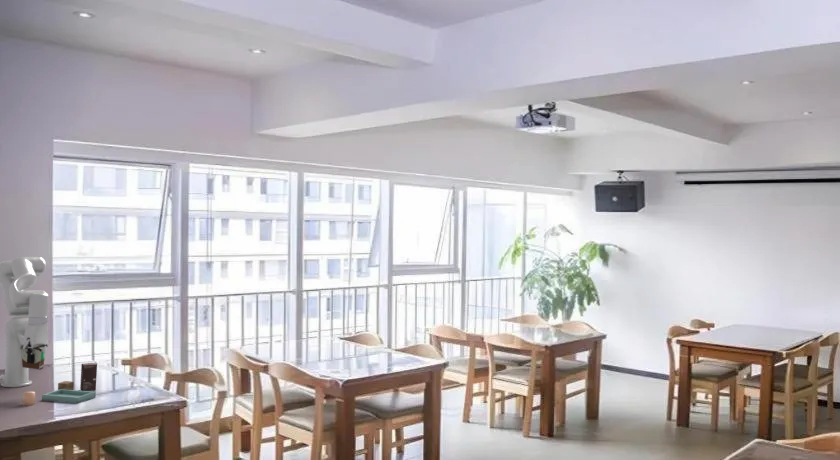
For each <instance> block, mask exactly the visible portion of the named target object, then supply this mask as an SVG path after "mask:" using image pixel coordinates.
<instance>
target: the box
mask: <svg viewBox="0 0 840 460" xmlns="http://www.w3.org/2000/svg"><path fill="white" fill-rule="evenodd" d="M80 367H81V369H80V387H79V391H96V390H97V374H98V364H97V363H96V362H87V363H81V366H80Z"/></svg>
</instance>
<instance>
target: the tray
mask: <svg viewBox="0 0 840 460" xmlns="http://www.w3.org/2000/svg"><path fill="white" fill-rule="evenodd" d="M96 393H97V392H96V391H91V390H88V391H81V390H77V389H76V390H74V389H73V390H65V389H59V390H58V389H57V390H53V391H49V392H47V393H43V394H41V395H42V396H41V401H46V402H55V403H56V402H58V403H68V404H69V403H70V404H71V403H72V404H80V403H83V402H86V401H89V400H91V399H94V398H96V395H97V394H96Z"/></svg>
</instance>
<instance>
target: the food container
mask: <svg viewBox="0 0 840 460" xmlns="http://www.w3.org/2000/svg"><path fill="white" fill-rule="evenodd" d="M23 346H24V344H22V345H21V346H20V349H21V358H22V368H29V370H30V369H31V370H38V371H40V370H41V371H42V370H43V369H44V366H45V360H44V359H46V357H45V356H46V352H47V351H48V347H46V345H45V344H44V346H40V347H36V348H35V351H34V354H35V360H34V363H33V364H31V363H27V354H26V352H25V350H24V349H23ZM30 350H32V349H30Z"/></svg>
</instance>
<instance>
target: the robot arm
mask: <svg viewBox="0 0 840 460" xmlns="http://www.w3.org/2000/svg"><path fill="white" fill-rule="evenodd" d="M46 271H47V262H46V260H45V259H44V258H43V257H41V256H17V257H14V258H13V259H12V260H4V261H0V287H1V289H2V290H3V297H4V304H5V311H6V313H7V315H8V316H9V317H11V318H9V319H7V320H5V322H4V332H5V345H6V346H5V347H6V348H5V370H4V371H5V372H4V374H1V375H0V380H2V382H0V386H1V387H4V388H19V387H25V386H26V387H27V386H31V385H32V384H33V381H32V380H31V379H29V374H30V373H29V372H30V371H29V370H30V369H29V368H22V358H21V349H20V346H21V345H22V344H24V346H23V349H24V350H25V352H26V354H27V363H31V364H33V363H34V360H35V354H34V351H35V348H36V347H40V346H44V344H45V345H46V347H47V348H48V346H49V344H50V343H51V341H50V340H49V337H50V336H49V335H50V334H49V323H48V321H49V304H50V303H49V301H50V300H49V299H50V295H49V293H47V292H46V291H45V290H42V289H37V290H36V289H34V290H33V289H29V288H31V287H33V286H34V285H36V283H37V280H38V277H40V276H42V275H43V274H45V273H46ZM30 349H32V350H30ZM45 359H46V358H45ZM45 359H44V361H45Z"/></svg>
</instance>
